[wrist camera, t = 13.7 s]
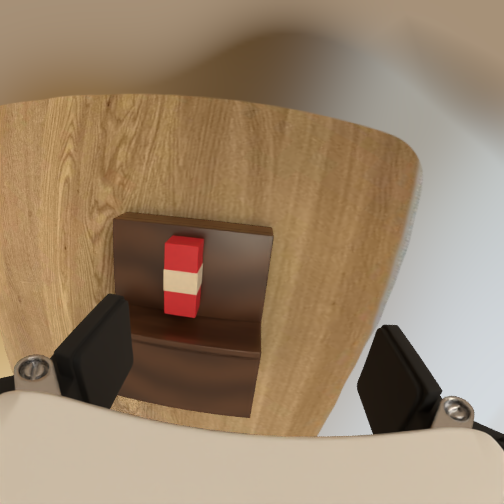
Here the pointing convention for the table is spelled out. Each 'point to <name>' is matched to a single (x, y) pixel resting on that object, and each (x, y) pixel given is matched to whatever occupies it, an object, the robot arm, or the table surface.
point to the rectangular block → (182, 275)
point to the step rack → (207, 318)
